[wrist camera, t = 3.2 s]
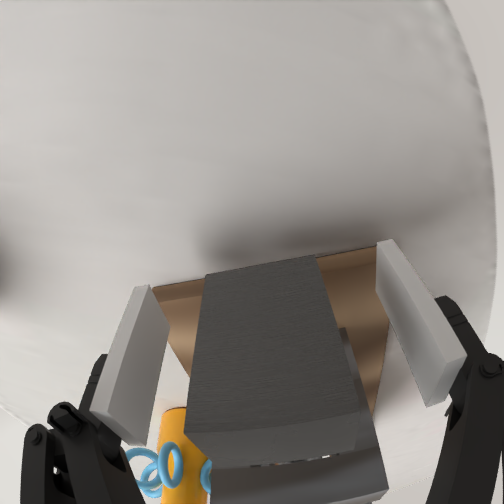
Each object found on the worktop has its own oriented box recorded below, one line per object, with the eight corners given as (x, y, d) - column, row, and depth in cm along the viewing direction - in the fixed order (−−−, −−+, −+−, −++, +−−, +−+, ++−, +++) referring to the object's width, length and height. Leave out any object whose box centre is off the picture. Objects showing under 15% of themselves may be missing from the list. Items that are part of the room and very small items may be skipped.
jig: (152, 287, 18) (97, 480, 8) (385, 244, 17) (487, 428, 7) (247, 449, 32) (248, 538, 22) (363, 430, 31) (381, 519, 20)
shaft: (205, 274, 13) (183, 433, 7) (314, 254, 12) (360, 410, 7) (281, 458, 25) (285, 522, 19) (328, 451, 24) (337, 515, 18)
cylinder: (270, 411, 26) (278, 561, 14) (229, 446, 31) (228, 560, 19) (139, 378, 24) (107, 545, 11) (127, 422, 29) (105, 542, 16)
